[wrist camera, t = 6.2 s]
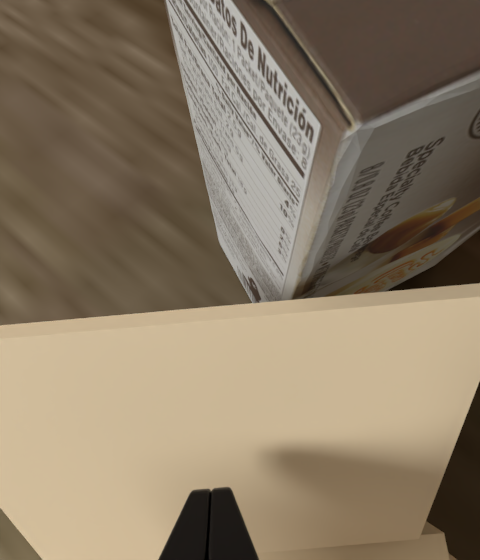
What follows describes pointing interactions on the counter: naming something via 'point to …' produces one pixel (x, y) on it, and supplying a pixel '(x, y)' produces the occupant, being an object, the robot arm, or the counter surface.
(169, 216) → the counter surface
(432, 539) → the carton
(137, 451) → the flap
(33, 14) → the counter surface
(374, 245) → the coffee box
